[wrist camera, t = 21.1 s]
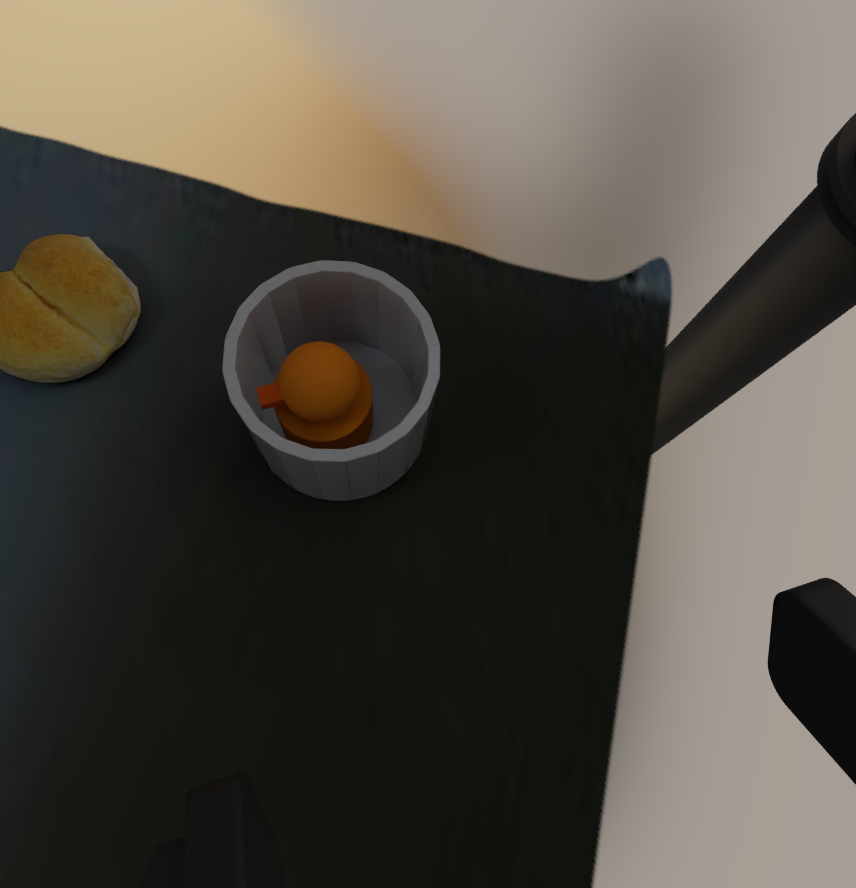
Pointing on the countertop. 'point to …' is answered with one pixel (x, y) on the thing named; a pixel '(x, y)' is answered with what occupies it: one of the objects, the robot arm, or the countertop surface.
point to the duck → (321, 397)
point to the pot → (366, 340)
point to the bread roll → (63, 310)
